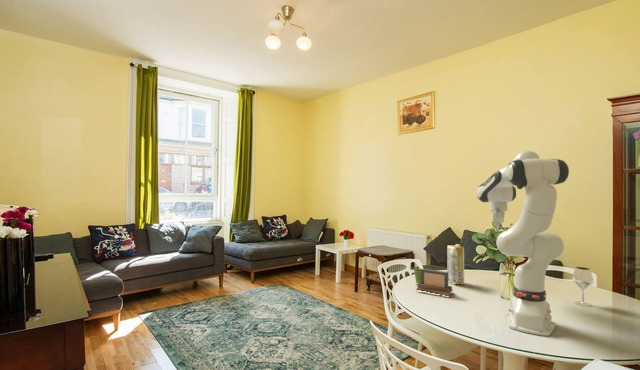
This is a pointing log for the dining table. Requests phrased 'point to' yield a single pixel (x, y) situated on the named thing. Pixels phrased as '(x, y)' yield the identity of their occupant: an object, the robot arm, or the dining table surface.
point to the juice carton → (455, 264)
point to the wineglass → (582, 281)
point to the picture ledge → (435, 289)
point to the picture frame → (435, 278)
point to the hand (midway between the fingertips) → (498, 232)
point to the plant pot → (418, 275)
